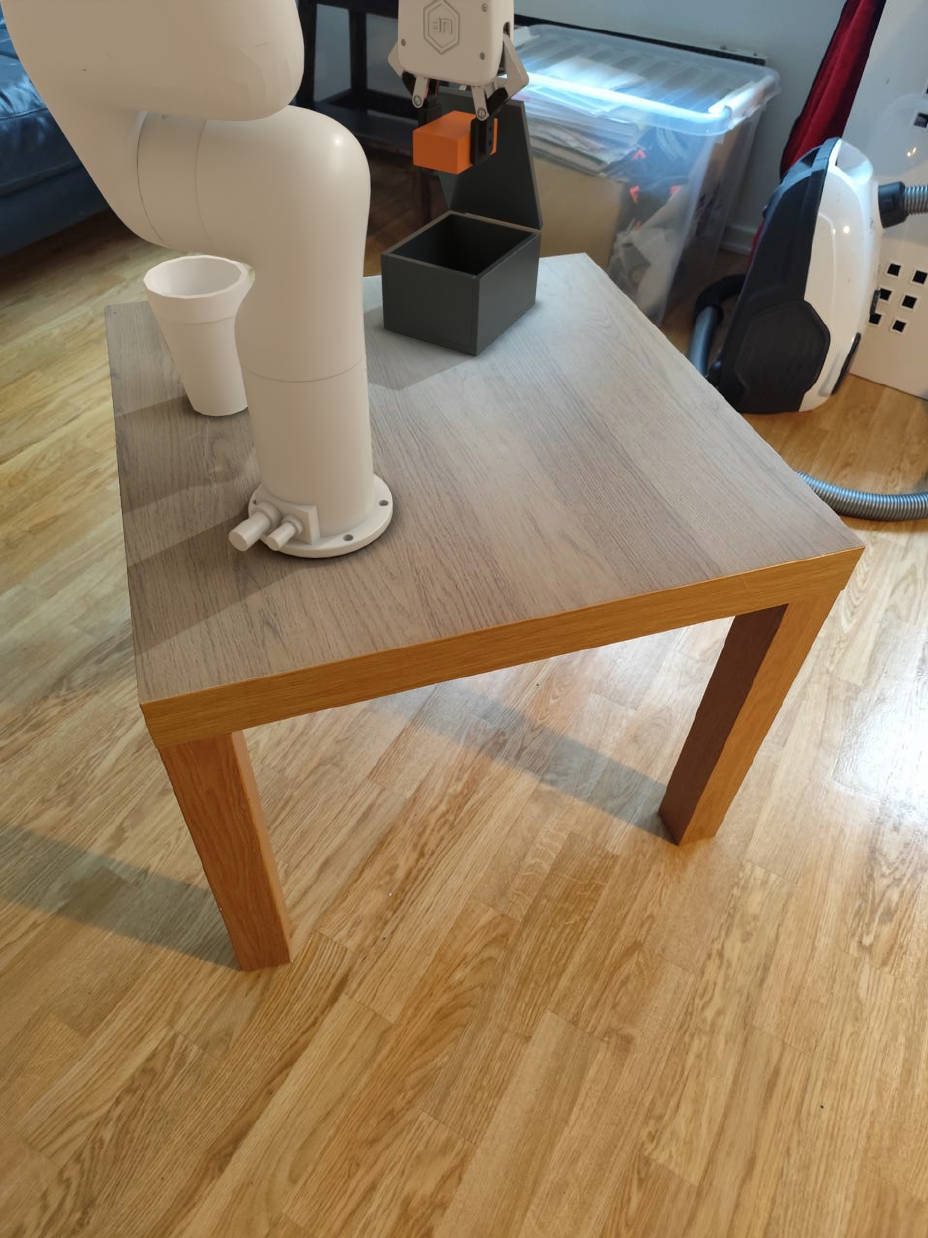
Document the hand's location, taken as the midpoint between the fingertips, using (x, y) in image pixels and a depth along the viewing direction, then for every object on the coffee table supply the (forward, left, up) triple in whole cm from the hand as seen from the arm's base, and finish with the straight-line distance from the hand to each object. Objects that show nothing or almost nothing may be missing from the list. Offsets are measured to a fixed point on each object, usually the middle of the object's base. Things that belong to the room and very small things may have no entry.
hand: (455, 153), depth 82 cm
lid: (+9, +2, -3) cm, 10 cm away
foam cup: (-24, +14, -20) cm, 34 cm away
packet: (0, 0, 0) cm, 0 cm away
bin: (+6, +2, -20) cm, 21 cm away
